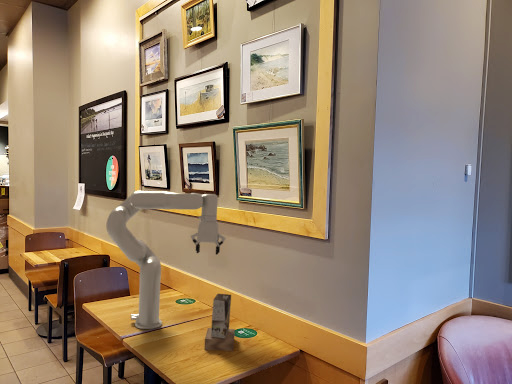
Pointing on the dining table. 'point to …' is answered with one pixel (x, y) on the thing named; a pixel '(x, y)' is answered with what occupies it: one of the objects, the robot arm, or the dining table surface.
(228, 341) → the walnut block
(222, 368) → the dining table surface
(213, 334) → the coffee box
